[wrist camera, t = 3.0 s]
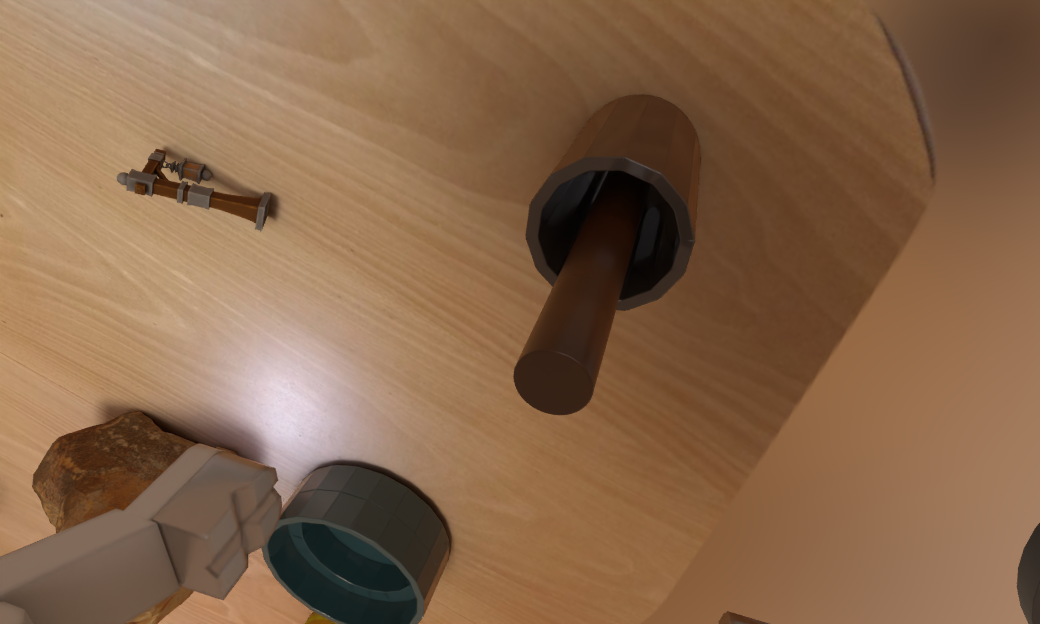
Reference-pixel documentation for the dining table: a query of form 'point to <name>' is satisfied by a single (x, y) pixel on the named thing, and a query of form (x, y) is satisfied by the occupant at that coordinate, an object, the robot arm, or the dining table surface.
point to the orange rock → (108, 478)
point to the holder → (645, 155)
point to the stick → (583, 302)
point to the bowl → (358, 548)
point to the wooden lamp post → (192, 189)
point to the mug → (318, 619)
